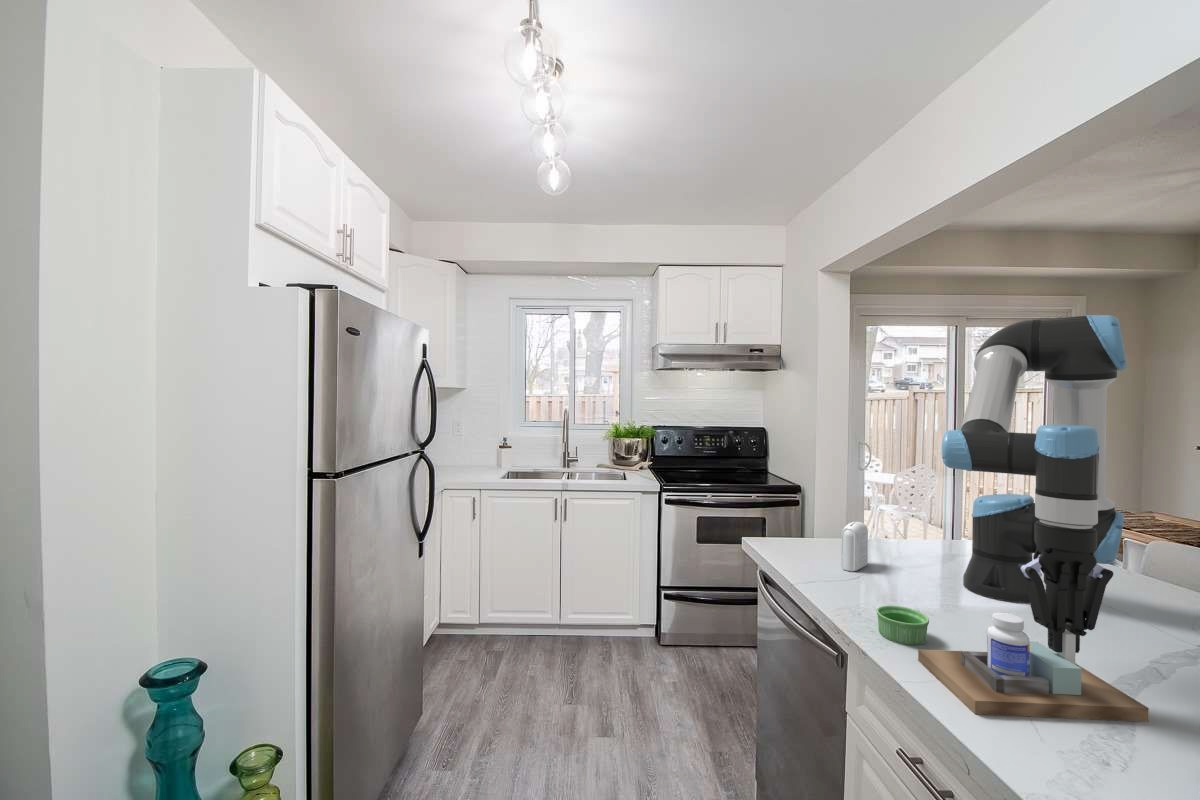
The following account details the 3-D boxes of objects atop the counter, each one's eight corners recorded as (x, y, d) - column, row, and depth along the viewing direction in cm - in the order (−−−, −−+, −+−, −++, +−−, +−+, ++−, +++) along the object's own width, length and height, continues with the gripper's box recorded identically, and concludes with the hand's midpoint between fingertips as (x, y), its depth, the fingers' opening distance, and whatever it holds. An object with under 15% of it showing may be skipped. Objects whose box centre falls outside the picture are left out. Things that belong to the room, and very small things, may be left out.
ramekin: (907, 650, 99) (907, 627, 99) (865, 631, 107) (866, 609, 107) (939, 642, 103) (940, 619, 103) (897, 623, 111) (897, 602, 111)
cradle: (1060, 666, 94) (1061, 643, 94) (1148, 721, 78) (1148, 694, 78) (918, 660, 95) (918, 638, 95) (975, 714, 79) (975, 687, 79)
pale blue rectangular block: (1037, 665, 89) (1037, 641, 89) (1081, 695, 81) (1081, 668, 81) (1012, 664, 90) (1012, 640, 90) (1053, 693, 81) (1053, 667, 81)
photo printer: (853, 561, 152) (854, 518, 152) (869, 564, 149) (870, 520, 149) (839, 569, 145) (839, 523, 145) (855, 573, 142) (855, 526, 142)
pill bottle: (1037, 689, 82) (1038, 626, 82) (997, 685, 83) (998, 622, 83) (1016, 671, 88) (1017, 612, 88) (980, 667, 89) (980, 609, 89)
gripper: (1088, 518, 88) (1086, 661, 88) (1005, 516, 89) (1003, 658, 89) (1130, 529, 81) (1128, 686, 81) (1039, 527, 81) (1037, 682, 82)
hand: (1063, 671), depth 85 cm, fingers closed
